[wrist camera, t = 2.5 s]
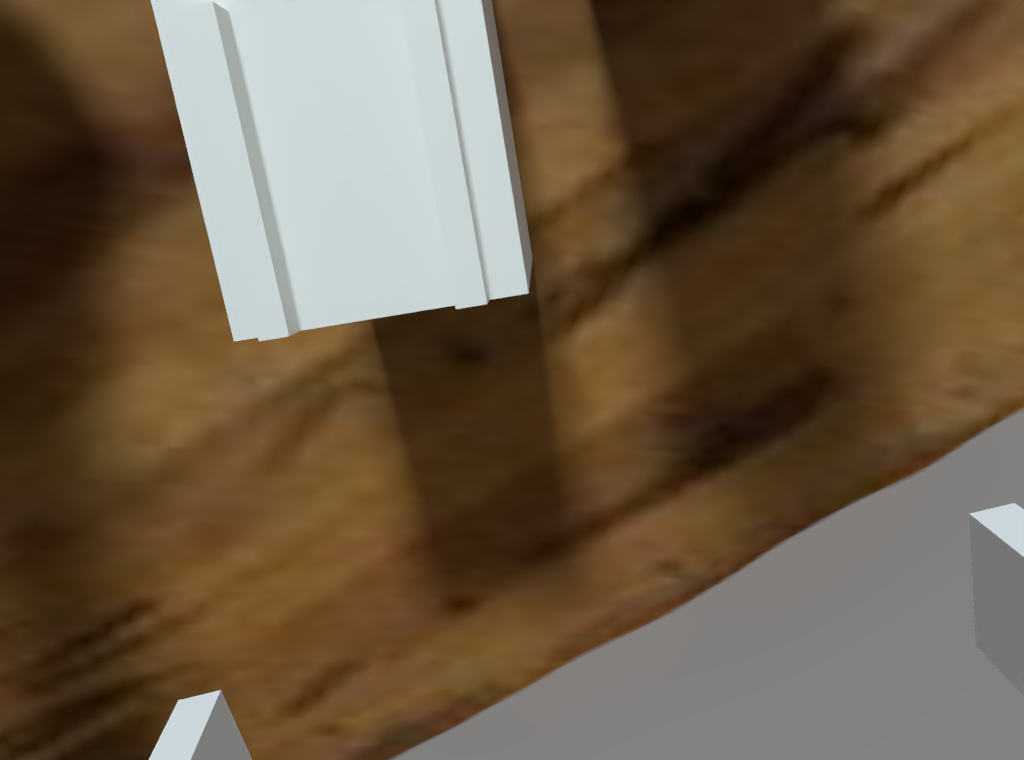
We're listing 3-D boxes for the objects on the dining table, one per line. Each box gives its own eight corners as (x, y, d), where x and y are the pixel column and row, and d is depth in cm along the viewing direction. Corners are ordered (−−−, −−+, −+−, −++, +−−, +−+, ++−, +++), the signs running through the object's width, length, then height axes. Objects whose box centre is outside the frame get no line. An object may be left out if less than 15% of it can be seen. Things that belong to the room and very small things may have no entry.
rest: (362, 285, 45) (219, 347, 25) (297, -29, 42) (70, -255, 21) (532, 257, 44) (528, 297, 24) (481, -65, 41) (426, -332, 21)
